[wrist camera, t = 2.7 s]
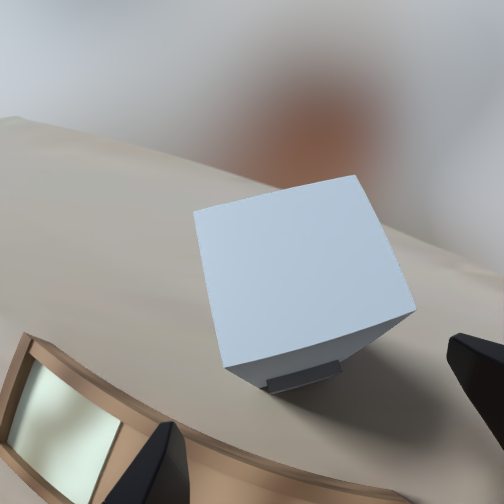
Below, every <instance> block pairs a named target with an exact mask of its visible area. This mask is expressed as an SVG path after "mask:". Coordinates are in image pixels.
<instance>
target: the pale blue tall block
mask: <svg viewBox="0 0 504 504" xmlns="http://www.w3.org/2000/svg"><path fill="white" fill-rule="evenodd" d="M193 214H194V220H195V226H196V231H197V237H198V243H199V248H200V254H201V259H202V265H203V270H204V275H205V281H206V286H207V291H208V296H209V301H210V306H211V311H212V316H213V320H214V325H215V330H216V335H217V339H218V344H219V348H220V353H221V357H222V362H223V366H224V368H225V369H227V370H228V371H230V372H232V373H233V374H235V375H237V376H239V377H240V378H242V379H244V380H245V381H247V382H249V383H251V384H252V385H254V386H256V387H258V388H262V387H266V386H268V390H269V393H270V394H271V395H272V394H276V393H280V392H284V391H288V390H291V389H295V388H298V387H302V386H306V385H309V384H312V383H316V382H319V381H322V380H325V379H328V378H330V377H333V376H335V375H337V374H339V373H342V370H341V367H340V364H339V363H340V362H342V361H343V360H345V359H346V358H348V357H350V356H351V355H353V354H354V353H356V352H357V351H359V350H360V349H362V348H363V347H365V346H366V345H368V344H369V343H371V342H372V341H374V340H375V339H377V338H378V337H380V336H381V335H383V334H384V333H386V332H387V331H388V330H390V329H391V328H393V327H394V326H395V325H397V324H398V323H400V322H401V321H402V320H404V319H405V318H406V317H408V316H409V315H410V314H412V313H413V312H414V311H416V310H417V308H416V306H415V303H414V300H413V298H412V295H411V293H410V290H409V288H408V285H407V283H406V280H405V278H404V276H403V273H402V271H401V268H400V266H399V264H398V261H397V259H396V257H395V255H394V252H393V250H392V248H391V246H390V244H389V241H388V239H387V237H386V235H385V233H384V231H383V228H382V226H381V224H380V222H379V220H378V218H377V216H376V214H375V212H374V210H373V208H372V206H371V204H370V202H369V200H368V198H367V196H366V194H365V192H364V190H363V189H362V187H361V185H360V183H359V181H358V179H357V177H356V175H351V176H346V177H341V178H336V179H331V180H326V181H321V182H317V183H312V184H307V185H303V186H298V187H294V188H289V189H284V190H280V191H275V192H271V193H267V194H262V195H258V196H254V197H250V198H246V199H241V200H237V201H233V202H229V203H225V204H221V205H217V206H213V207H209V208H205V209H202V210H198V211H194V212H193Z"/></svg>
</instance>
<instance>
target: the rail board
mask: <svg viewBox="0 0 504 504" xmlns="http://www.w3.org/2000/svg"><path fill="white" fill-rule="evenodd" d="M165 421H174V422H175V423H176V425H177V426H178V428H179V430H180V431H181V433H182V435H183V436H184V439H185V443H186V453H187V462H188V471H189V479H190V504H411V503H410V502H409V501H407V500H406V499H405V498H403V497H402V496H400V495H399V494H397V493H396V492H394V491H393V490H387V489H381V488H375V487H370V486H365V485H359V484H355V483H350V482H345V481H341V480H337V479H333V478H328V477H325V476H321V475H317V474H313V473H310V472H306V471H303V470H299V469H296V468H293V467H289V466H286V465H283V464H280V463H277V462H274V461H271V460H268V459H265V458H262V457H260V456H257V455H254V454H251V453H249V452H246V451H243V450H241V449H238V448H236V447H233V446H231V445H228V444H226V443H223V442H221V441H219V440H216V439H214V438H212V437H210V436H207V435H205V434H203V433H201V432H198V431H196V430H194V429H192V428H190V427H188V426H186V425H184V424H182V423H179V422H177V421H175V420H173V419H171V418H170V417H168V416H166V415H164V414H162V413H160V412H158V411H156V410H154V409H152V408H151V407H149V406H147V405H145V404H143V403H142V402H140V401H138V400H136V399H135V398H133V397H131V396H129V395H128V394H126V393H124V392H123V391H121V390H119V389H118V388H116V387H114V386H113V385H111V384H110V383H108V382H106V381H105V380H103V379H102V378H100V377H99V376H97V375H96V374H94V373H93V372H91V371H90V370H88V369H87V368H85V367H84V366H82V365H81V364H79V363H78V362H76V361H75V360H74V359H72V358H71V357H69V356H68V355H67V354H65V353H64V352H63V351H61V350H60V349H59V348H57V347H56V346H55V345H53V344H52V343H50V342H47V341H45V340H42V339H39V338H37V337H34V336H32V335H30V334H27V333H25V332H23V335H22V337H21V339H20V342H19V344H18V347H17V349H16V352H15V354H14V357H13V359H12V362H11V365H10V367H9V370H8V373H7V376H6V378H5V381H4V384H3V387H2V390H1V393H0V457H1V458H2V459H3V460H4V462H5V463H6V464H7V465H8V466H9V467H10V468H11V469H12V470H13V471H14V472H15V473H16V474H17V475H18V476H19V477H20V478H21V479H22V480H23V481H24V482H25V483H26V484H27V485H28V486H29V487H30V488H31V489H32V490H33V491H35V492H36V493H37V494H38V495H39V496H40V497H41V498H42V499H43V500H45V501H46V502H47V503H48V504H101V503H102V502H103V501H104V499H105V498H106V496H107V495H108V494H109V492H110V491H111V490H112V488H113V487H114V486H115V484H116V483H117V481H118V480H119V479H120V477H121V476H122V475H123V473H124V472H125V471H126V469H127V468H128V466H129V465H130V464H131V462H132V461H133V460H134V458H135V457H136V455H137V454H138V453H139V451H140V450H141V448H142V447H143V446H144V444H145V443H146V442H147V440H148V439H149V437H150V436H151V435H152V433H153V432H154V430H155V429H156V428H157V426H158V425H159V424H160V423H161V422H165Z"/></svg>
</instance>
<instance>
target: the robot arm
mask: <svg viewBox="0 0 504 504" xmlns="http://www.w3.org/2000/svg"><path fill="white" fill-rule="evenodd" d="M447 361H448V364H449V365H450V367H451V369H452V370H453V372H454V374H455V376H456V377H457V379H458V381H459V383H460V385H461V386H462V388H463V390H464V392H465V393H466V395H467V396H468V398H469V399H470V401H471V402H472V404H473V405H474V407H475V408H476V409H477V411H478V412H479V414H480V415H481V417H482V418H483V420H484V421H485V423H486V424H487V426H488V427H489V429H490V430H491V432H492V433H493V435H494V436H495V438H496V439H497V441H498V442H499V444H500V445H501V447H502V449H503V450H504V345H502V344H498V343H495V342H491V341H488V340H484V339H481V338H477V337H474V336H470V335H467V334H463V333H458V334H456V335H454V336H452V337H450V339H449V343H448V349H447ZM101 504H190V479H189V471H188V462H187V453H186V443H185V439H184V436H183V435H182V433H181V431H180V430H179V428H178V426H177V425H176V423H175V422H174V421H165V422H161V423H160V424H159V425H158V426H157V428H156V429H155V430H154V432H153V433H152V435H151V436H150V437H149V439H148V440H147V442H146V443H145V444H144V446H143V447H142V448H141V450H140V451H139V453H138V454H137V455H136V457H135V458H134V460H133V461H132V462H131V464H130V465H129V466H128V468H127V469H126V471H125V472H124V473H123V475H122V476H121V477H120V479H119V480H118V481H117V483H116V484H115V486H114V487H113V488H112V490H111V491H110V492H109V494H108V495H107V496H106V498H105V499H104V501H103V502H102V503H101Z"/></svg>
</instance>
